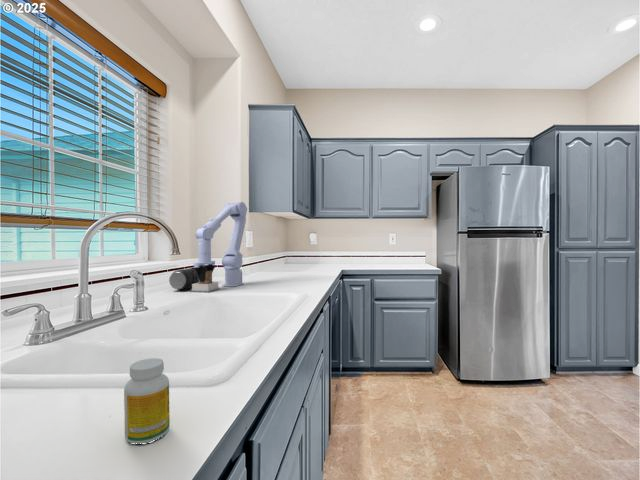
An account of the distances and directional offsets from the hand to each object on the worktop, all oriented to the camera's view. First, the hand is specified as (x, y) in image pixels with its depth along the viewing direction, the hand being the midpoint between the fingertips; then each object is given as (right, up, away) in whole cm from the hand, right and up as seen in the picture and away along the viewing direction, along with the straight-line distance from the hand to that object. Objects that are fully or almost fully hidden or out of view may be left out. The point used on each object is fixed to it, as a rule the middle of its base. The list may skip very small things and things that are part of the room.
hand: (205, 281), depth 163 cm
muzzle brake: (-11, -5, +10) cm, 15 cm away
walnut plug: (0, -3, 0) cm, 3 cm away
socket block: (0, -5, 0) cm, 4 cm away
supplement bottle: (+32, -6, -118) cm, 122 cm away
